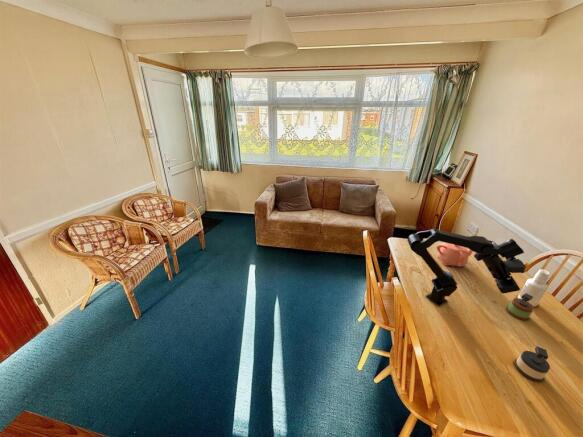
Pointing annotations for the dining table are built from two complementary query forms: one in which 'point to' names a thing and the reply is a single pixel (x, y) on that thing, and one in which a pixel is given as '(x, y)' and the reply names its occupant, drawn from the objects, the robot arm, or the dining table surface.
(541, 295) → the spray bottle
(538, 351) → the plain pump
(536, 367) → the black and cream cylinder
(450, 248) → the teapot
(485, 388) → the dining table surface
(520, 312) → the green cylinder
